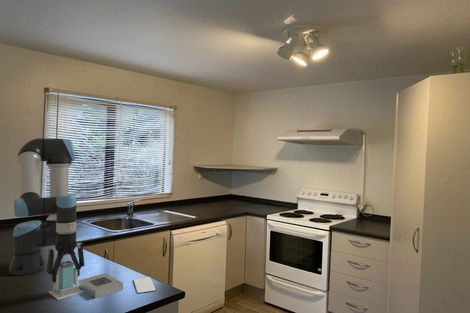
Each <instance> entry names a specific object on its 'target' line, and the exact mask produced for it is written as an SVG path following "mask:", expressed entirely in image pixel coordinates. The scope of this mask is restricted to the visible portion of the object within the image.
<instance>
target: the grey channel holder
mask: <svg viewBox="0 0 470 313" xmlns="http://www.w3.org/2000/svg"><path fill="white" fill-rule="evenodd" d="M52 288H53V290H49V291H48V294H49V295H51V296H52V297H53V298H55V299H56V300H57V301H59V300H63V299H67V298H69V296H70V297H72V296H76V294H77V295H80V294H83V293H84V290H82V289H81V288H79V285H74V284H73V287H70V288H66V289H62V290H60V292H59V290H58V291H56V290H55V289H54V284H53V285H52ZM66 297H67V298H66Z"/></svg>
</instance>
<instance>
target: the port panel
mask: <svg viewBox="0 0 470 313" xmlns="http://www.w3.org/2000/svg"><path fill="white" fill-rule="evenodd" d="M78 286H79V289H80V290H82V291H83V292H85V293H87V294H88V295H89V294H90V295H89V296H91V297H92V298H93V299H95V298H96V299H98V297H99V298H101V296H102V297H105V296H108V295H111V293H112V294H115V293H118V292H121V291H123V290H124V282H122V281H120V280H118V279H117V278H115V277H113V276H111V275H109V274H108V273H100V274H97V275H93V276H90V277H86V278H81V279H79V280H78ZM114 292H115V293H114ZM104 295H105V296H104Z"/></svg>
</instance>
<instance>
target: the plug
mask: <svg viewBox="0 0 470 313" xmlns="http://www.w3.org/2000/svg"><path fill="white" fill-rule="evenodd" d="M73 268H74V263H73V261H71V260H66V261H61V263H60V266H59V268H58V274H59V292H60V290H62V289H66V288H70V287H73V285H74V284H73Z"/></svg>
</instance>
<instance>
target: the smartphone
mask: <svg viewBox="0 0 470 313" xmlns="http://www.w3.org/2000/svg"><path fill="white" fill-rule="evenodd" d="M132 282H133V285H134V288H135V291H136V294H138V295H141V294H145V293H146V294H147V293H152V292H153V293H154V292H156V291H157V289H156V286H155V284H154V282H153V279H152V277H151V276H144V277H137V278H133V280H132Z"/></svg>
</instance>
